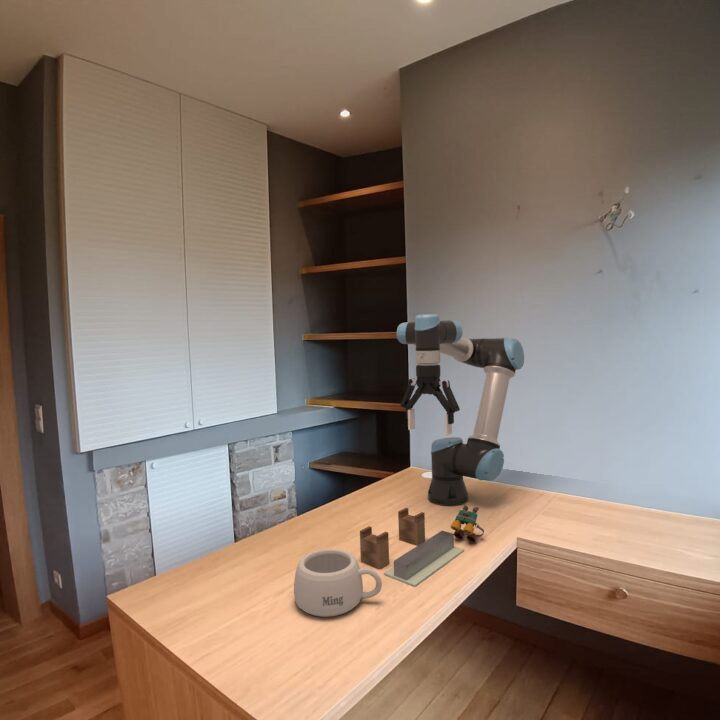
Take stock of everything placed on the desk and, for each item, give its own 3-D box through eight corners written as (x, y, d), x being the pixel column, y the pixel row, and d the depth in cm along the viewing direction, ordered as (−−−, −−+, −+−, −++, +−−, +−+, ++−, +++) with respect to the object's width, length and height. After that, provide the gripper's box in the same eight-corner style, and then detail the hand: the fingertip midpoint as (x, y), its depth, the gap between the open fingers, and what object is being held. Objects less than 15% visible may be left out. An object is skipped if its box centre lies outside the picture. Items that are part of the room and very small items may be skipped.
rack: (360, 562, 135) (359, 530, 135) (406, 535, 152) (405, 507, 151) (380, 569, 131) (379, 537, 130) (425, 541, 147) (424, 512, 146)
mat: (384, 574, 128) (383, 572, 128) (434, 541, 147) (434, 540, 146) (415, 587, 121) (415, 585, 121) (464, 550, 140) (464, 549, 140)
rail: (394, 575, 126) (393, 560, 126) (442, 543, 144) (442, 530, 144) (406, 580, 124) (406, 565, 123) (454, 547, 142) (453, 533, 141)
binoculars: (453, 542, 150) (444, 522, 146) (463, 519, 156) (455, 498, 151) (481, 550, 145) (473, 529, 140) (491, 525, 150) (484, 504, 146)
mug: (284, 618, 110) (283, 576, 109) (305, 580, 126) (303, 543, 125) (377, 625, 106) (376, 581, 105) (386, 585, 122) (385, 547, 122)
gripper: (388, 364, 155) (390, 429, 156) (457, 366, 138) (458, 439, 139) (402, 362, 160) (404, 425, 162) (470, 364, 144) (471, 434, 145)
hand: (429, 431), depth 151 cm, fingers open, 13 cm apart
